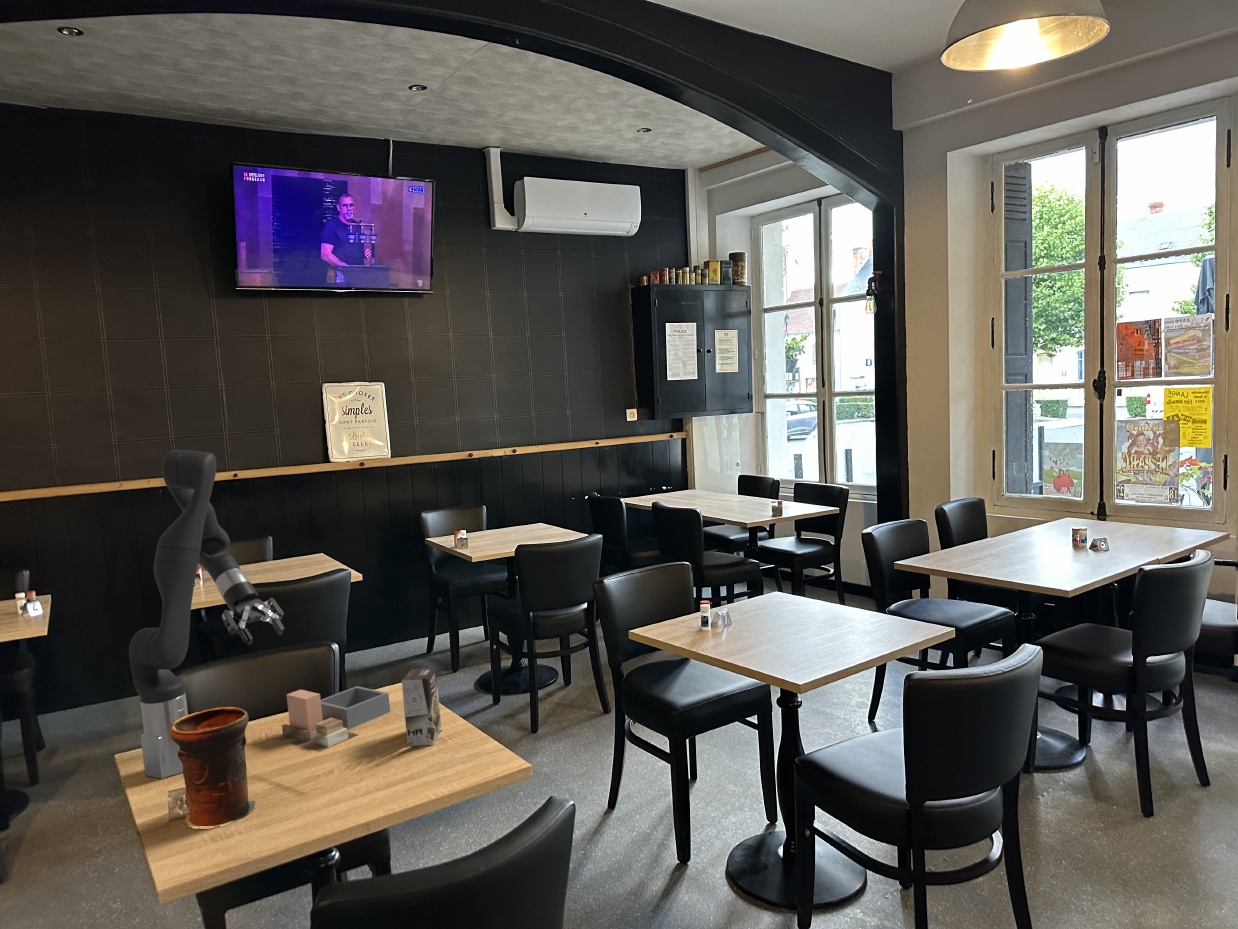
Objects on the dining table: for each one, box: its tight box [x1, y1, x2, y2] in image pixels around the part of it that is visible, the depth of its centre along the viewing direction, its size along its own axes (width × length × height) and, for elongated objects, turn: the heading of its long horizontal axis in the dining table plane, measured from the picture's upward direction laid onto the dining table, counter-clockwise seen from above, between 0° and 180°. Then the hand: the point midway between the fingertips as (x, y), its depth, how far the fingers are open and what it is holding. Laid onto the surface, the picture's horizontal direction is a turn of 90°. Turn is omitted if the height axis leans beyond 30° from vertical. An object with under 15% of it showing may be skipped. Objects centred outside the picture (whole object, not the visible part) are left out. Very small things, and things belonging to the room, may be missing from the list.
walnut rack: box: [273, 720, 359, 753], centre depth 212 cm, size 19×11×4 cm, turn 54°
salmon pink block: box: [286, 689, 323, 739], centre depth 214 cm, size 8×4×10 cm, turn 54°
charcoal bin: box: [321, 685, 391, 731], centre depth 224 cm, size 13×13×6 cm
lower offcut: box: [312, 727, 349, 748], centre depth 208 cm, size 6×6×2 cm
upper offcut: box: [316, 718, 343, 735], centre depth 208 cm, size 4×4×2 cm
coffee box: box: [401, 666, 443, 747], centre depth 207 cm, size 9×6×16 cm
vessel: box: [170, 706, 256, 829], centre depth 176 cm, size 14×14×20 cm
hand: (266, 637), depth 220 cm, fingers open, 8 cm apart
